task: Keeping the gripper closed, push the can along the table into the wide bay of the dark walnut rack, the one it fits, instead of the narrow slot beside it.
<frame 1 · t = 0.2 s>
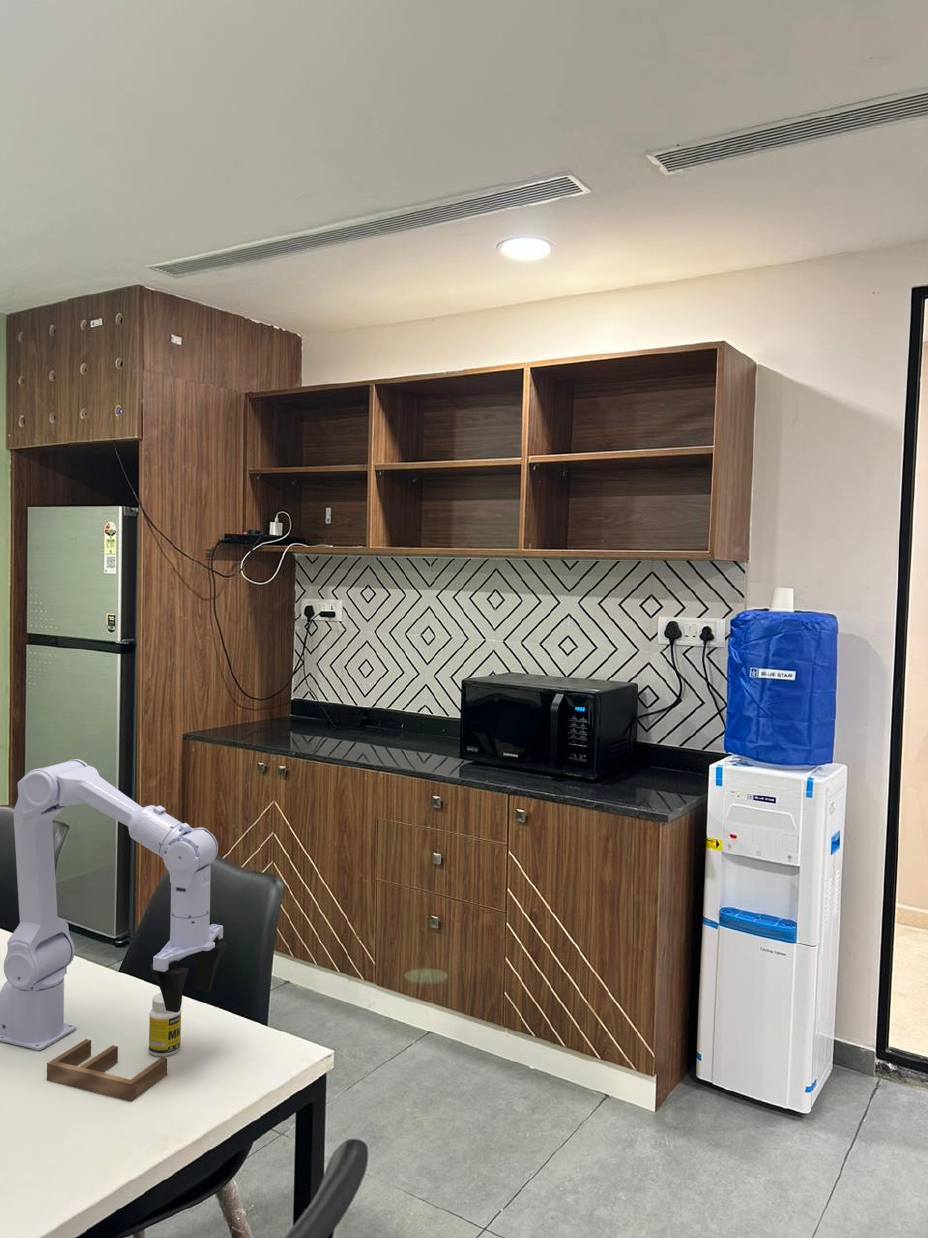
hand: (188, 1000, 145), 10 cm above the table, tool pointing down, fingers open, 7 cm apart
supplement bottle: (164, 1051, 149), on the table
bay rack: (98, 1073, 142), on the table
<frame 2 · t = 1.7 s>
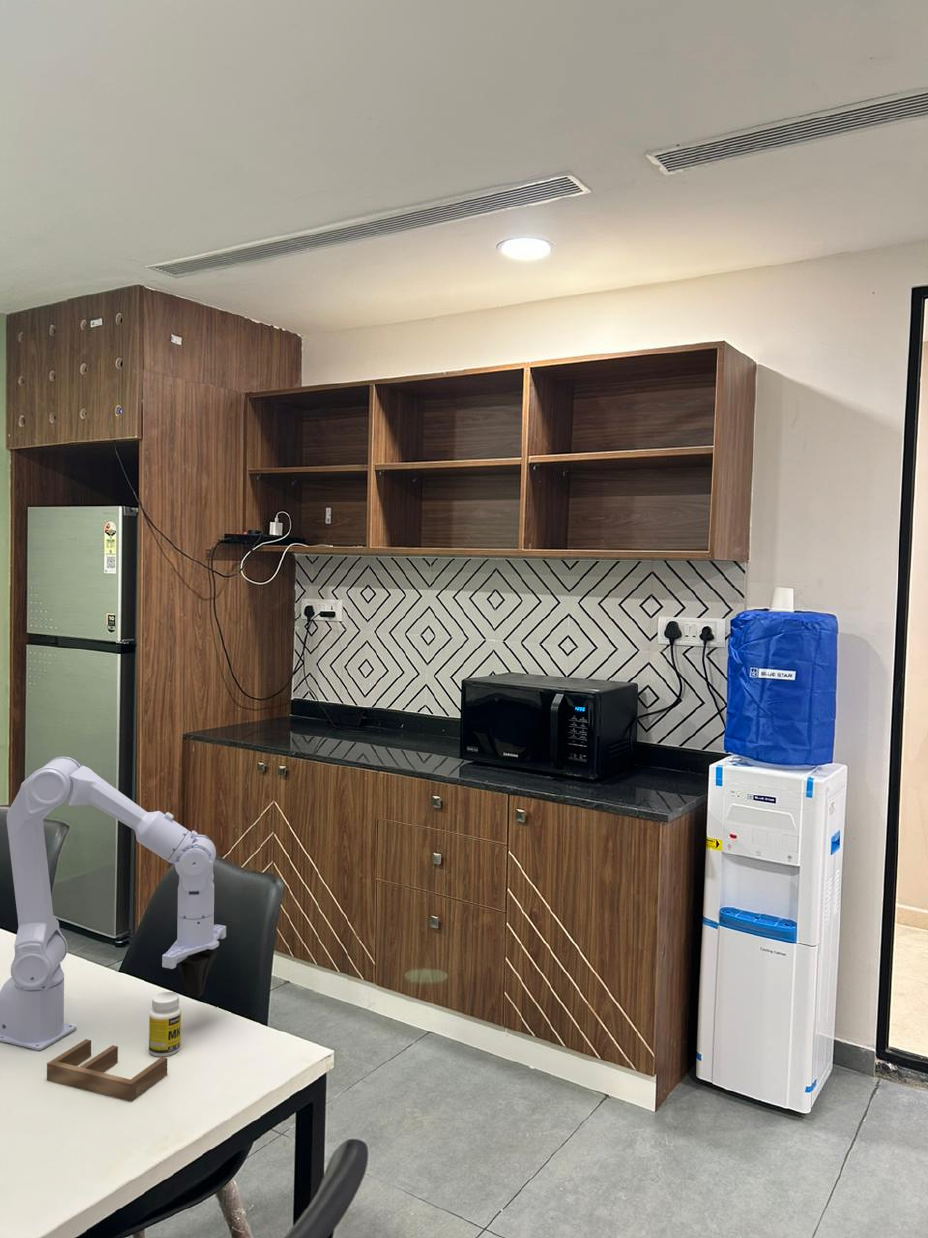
hand: (194, 995, 156), 6 cm above the table, tool pointing down, fingers closed
nothing on the table moved.
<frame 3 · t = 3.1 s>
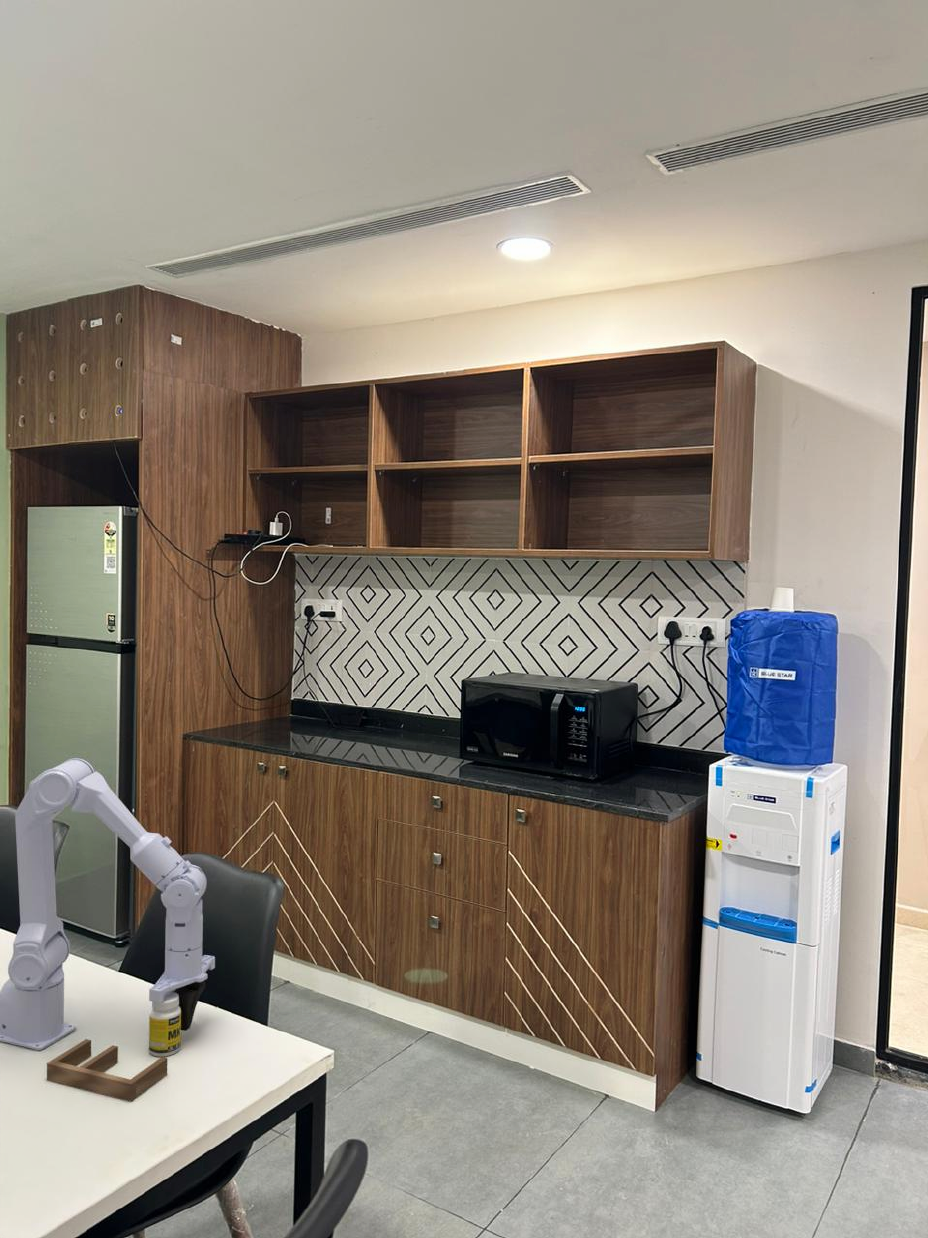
hand: (182, 1028, 153), 1 cm above the table, tool pointing down, fingers closed
supplement bottle: (164, 1051, 149), on the table, touching gripper
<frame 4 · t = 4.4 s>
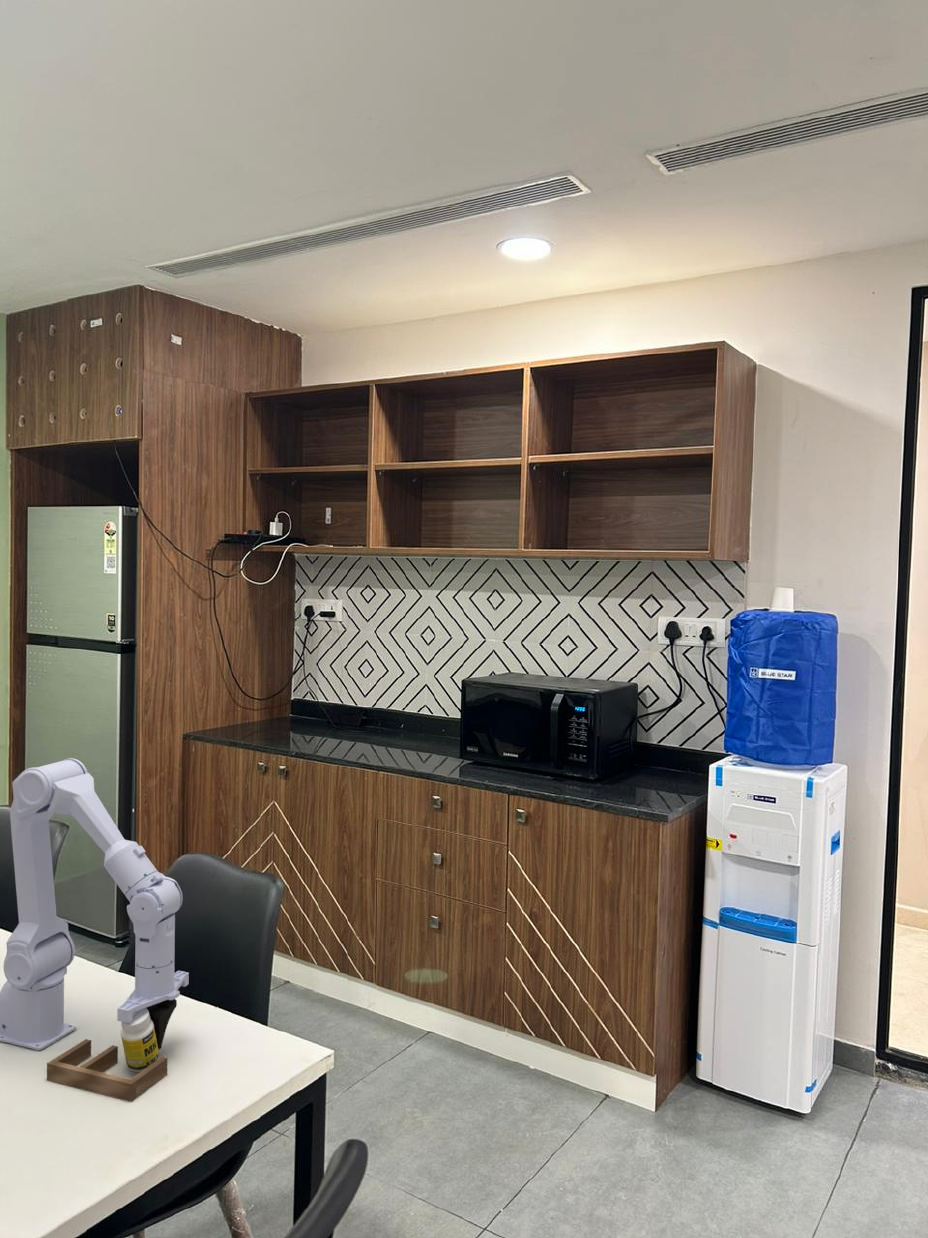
hand: (154, 1048, 146), 2 cm above the table, tool pointing down, fingers closed, pressing on supplement bottle
supplement bottle: (143, 1062, 144), point 1 cm above the table, touching gripper
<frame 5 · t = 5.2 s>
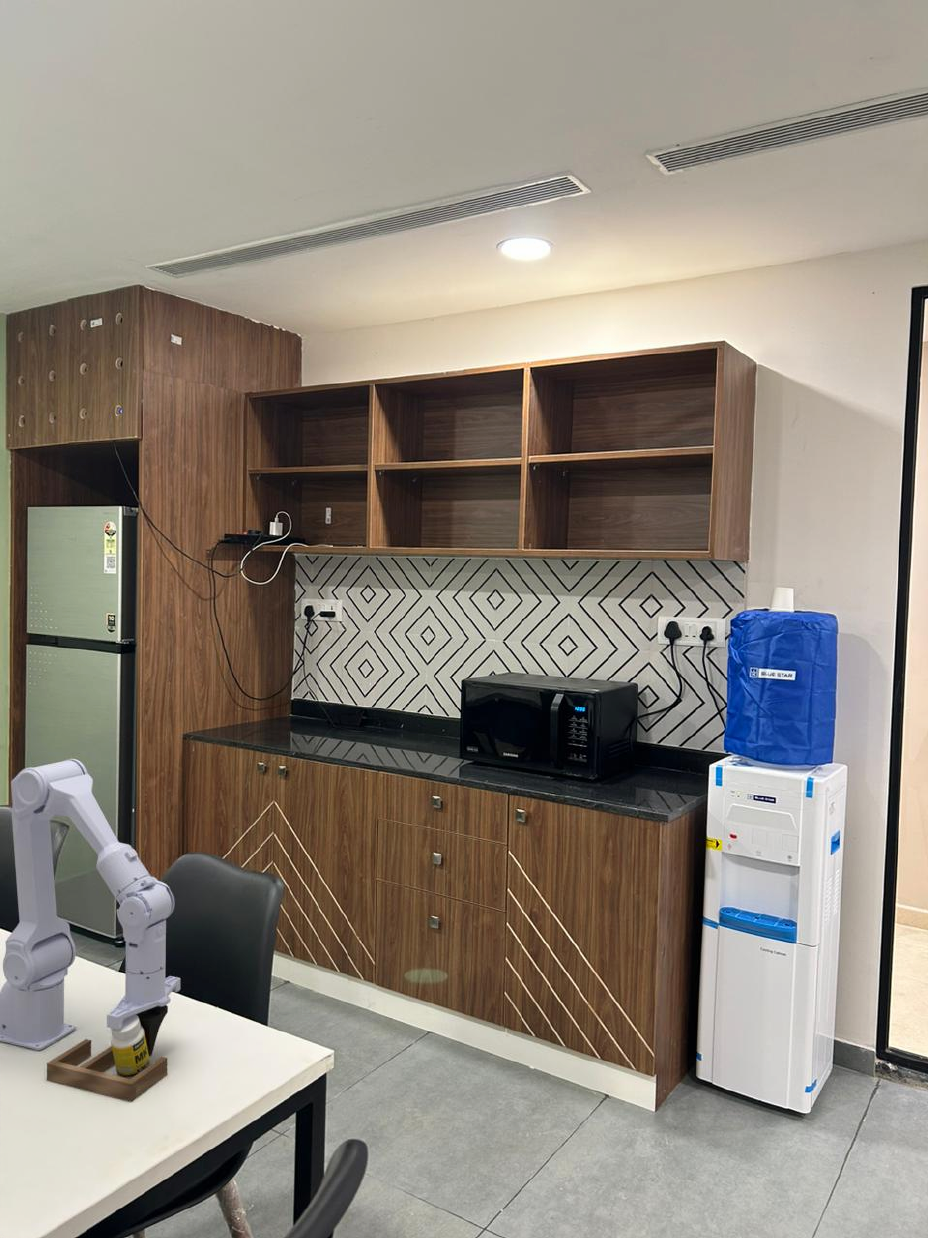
hand: (144, 1055, 144), 1 cm above the table, tool pointing down, fingers closed
supplement bottle: (134, 1069, 142), on the table, touching gripper
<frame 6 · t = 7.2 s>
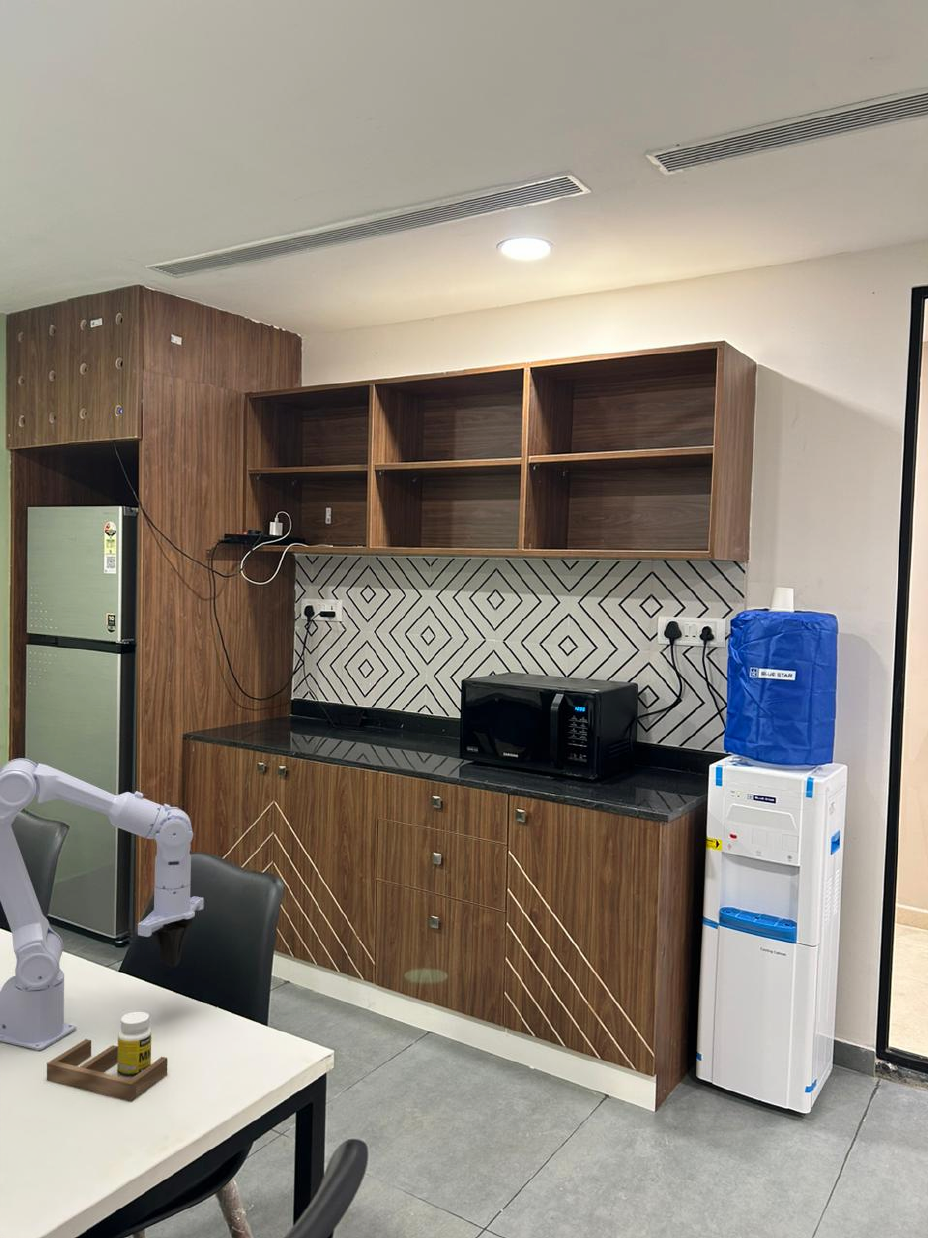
hand: (171, 964, 158), 9 cm above the table, tool pointing down, fingers closed
supplement bottle: (134, 1074, 142), on the table
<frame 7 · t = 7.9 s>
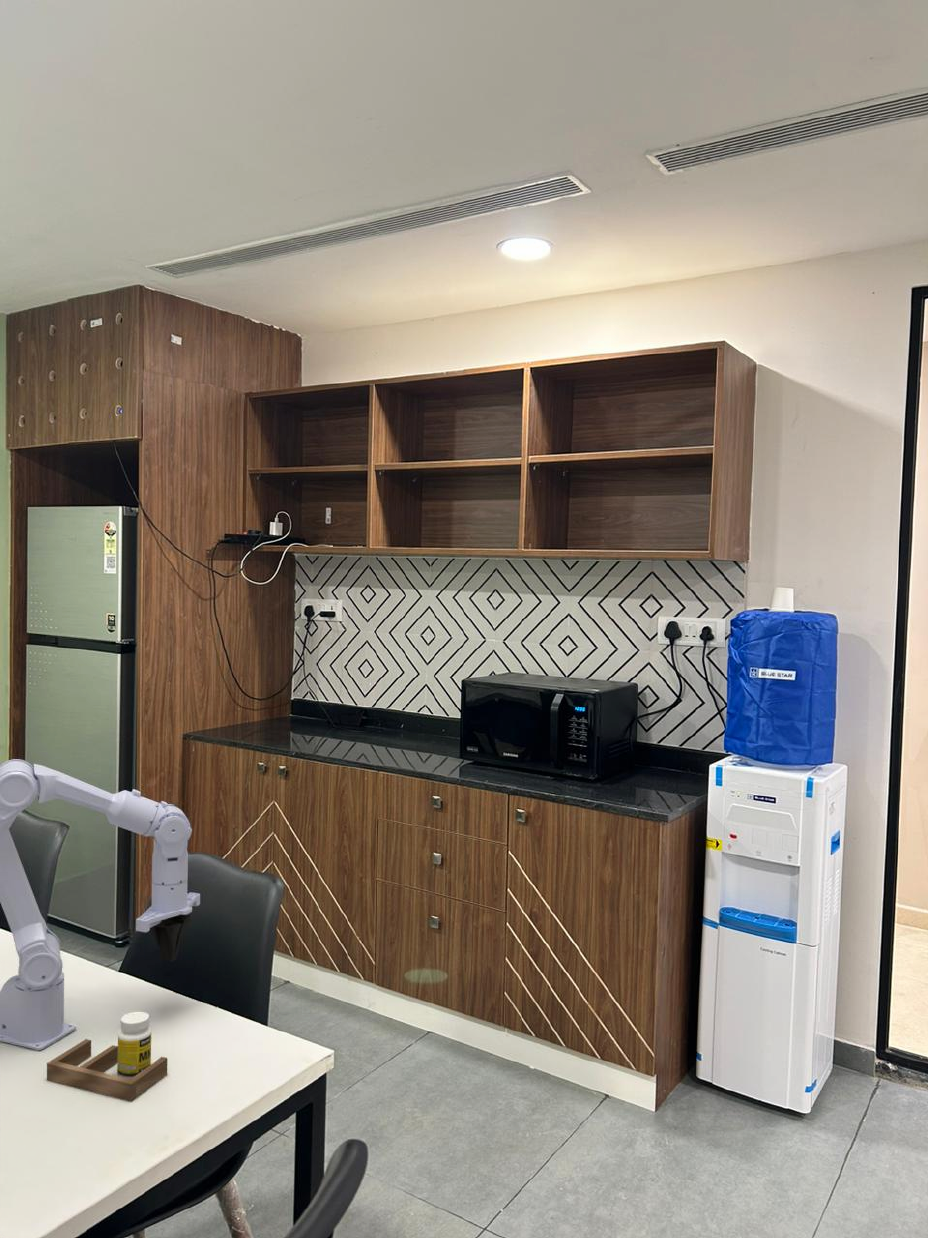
hand: (168, 960, 160), 9 cm above the table, tool pointing down, fingers closed
nothing on the table moved.
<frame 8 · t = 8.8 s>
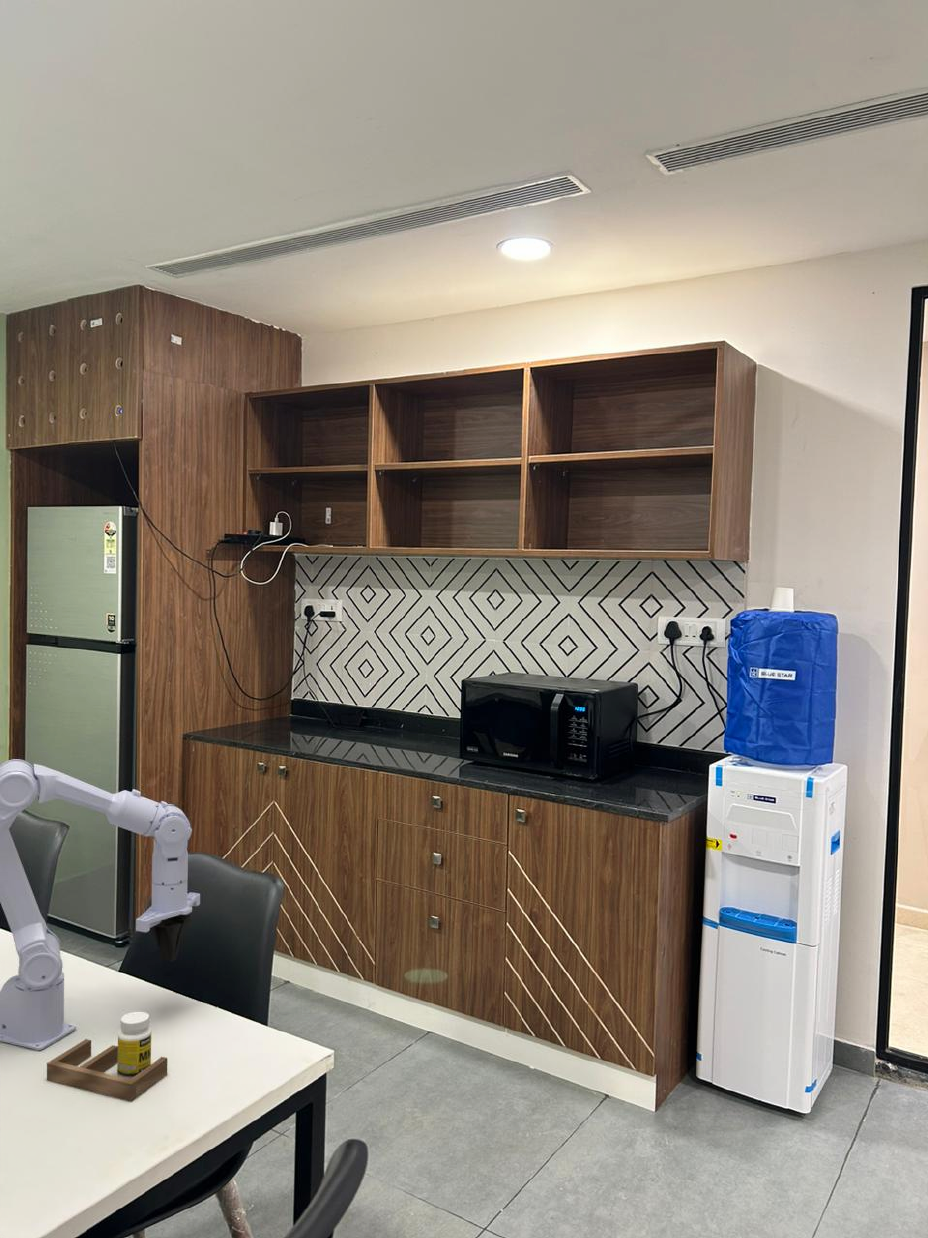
hand: (168, 960, 160), 9 cm above the table, tool pointing down, fingers closed
nothing on the table moved.
at the end: supplement bottle 2.6 cm from the target spot on the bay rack, point 0.0 cm above the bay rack's base; supplement bottle tilted 0°; supplement bottle moved 7.4 cm from its start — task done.
